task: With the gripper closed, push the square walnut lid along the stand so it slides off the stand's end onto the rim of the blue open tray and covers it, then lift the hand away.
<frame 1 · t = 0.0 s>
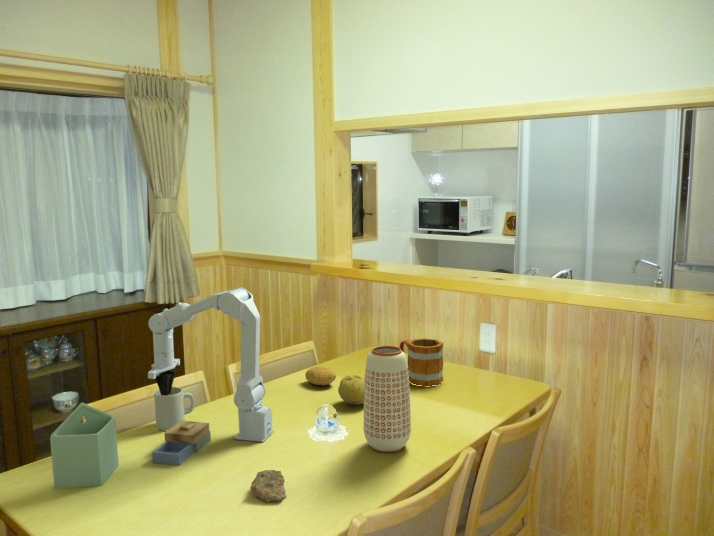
hand: (165, 394, 180), 11 cm above the table, fingers closed, pressing on mug
vase: (387, 446, 166), on the table
rock: (270, 494, 141), on the table
mug 2: (419, 380, 223), on the table
potato: (321, 385, 219), on the table
blue open tray: (174, 457, 160), on the table
stand: (189, 445, 168), on the table
fruit: (354, 404, 198), on the table
planter: (94, 481, 148), on the table
lid: (187, 435, 167), point 3 cm above the table, touching stand
mug: (176, 424, 184), on the table, touching gripper
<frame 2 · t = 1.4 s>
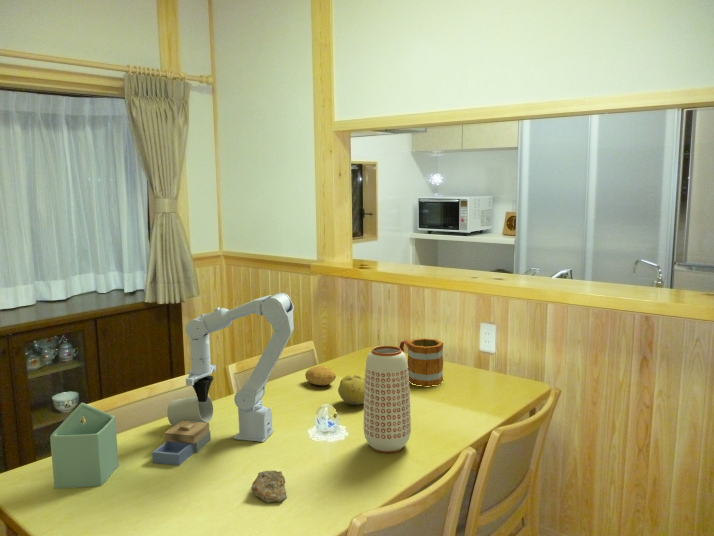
hand: (202, 401, 176), 10 cm above the table, fingers closed on mug
mug: (178, 414, 183), point 3 cm above the table, touching gripper
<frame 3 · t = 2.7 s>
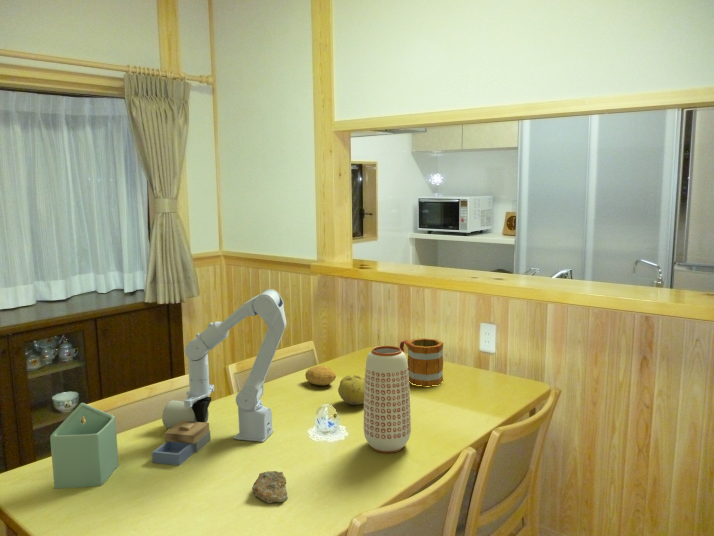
hand: (201, 422, 175), 4 cm above the table, fingers closed on mug
mug: (173, 413, 182), point 4 cm above the table, touching gripper
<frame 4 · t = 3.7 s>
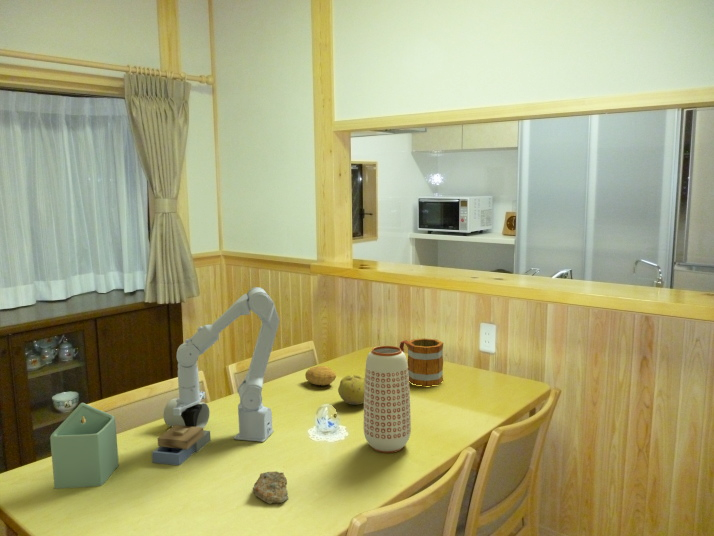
hand: (191, 430, 169), 4 cm above the table, fingers closed
lid: (181, 440, 164), point 3 cm above the table, touching blue open tray, gripper, stand
mug: (175, 412, 184), point 3 cm above the table
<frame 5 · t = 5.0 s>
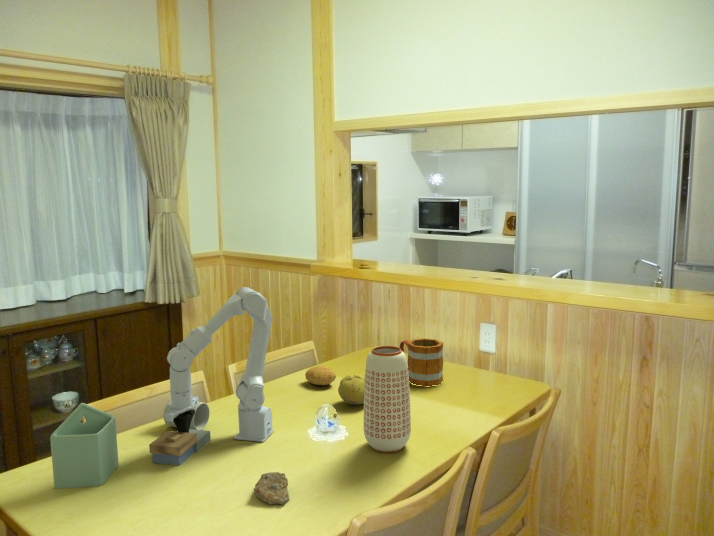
hand: (183, 436, 165), 4 cm above the table, fingers closed
lid: (173, 447, 160), point 3 cm above the table, touching blue open tray, gripper, stand
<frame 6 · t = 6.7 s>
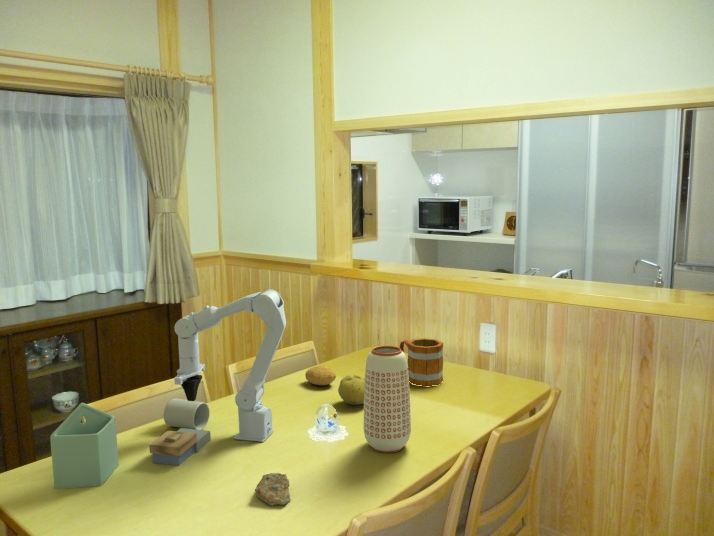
hand: (191, 400, 175), 10 cm above the table, fingers closed
lid: (173, 447, 160), point 3 cm above the table, touching blue open tray, stand
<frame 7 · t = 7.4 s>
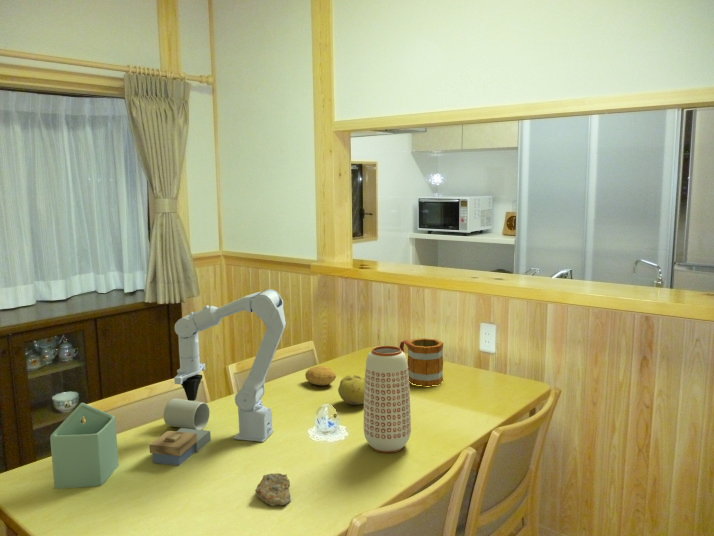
hand: (191, 399, 175), 10 cm above the table, fingers closed
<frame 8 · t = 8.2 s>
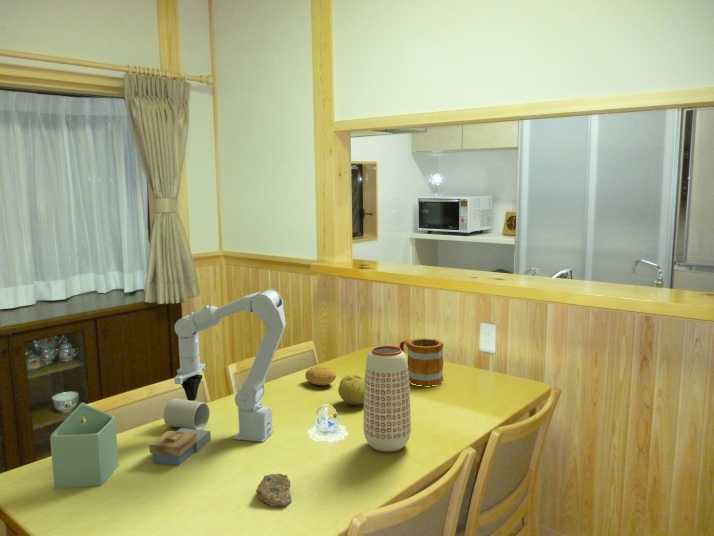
hand: (191, 399, 175), 10 cm above the table, fingers closed
at the end: lid 0.2 cm off-centre on the blue open tray, point 3.0 cm above the blue open tray's base; lid tilted 0°; lid touching blue open tray, stand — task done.
